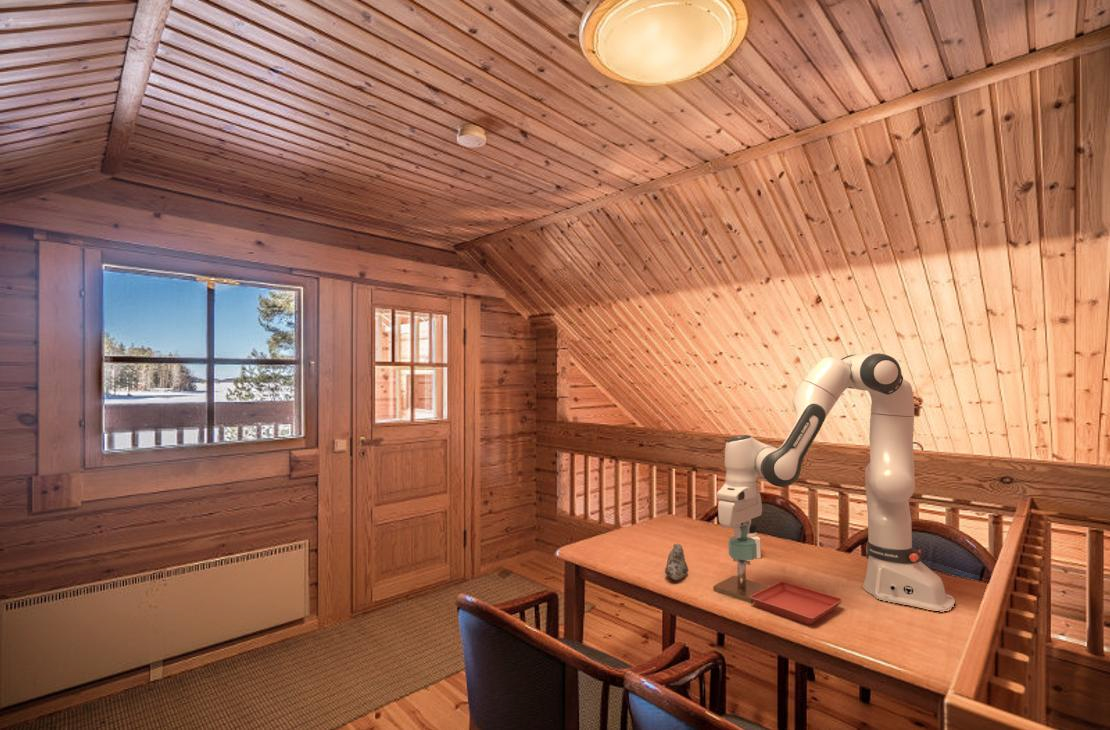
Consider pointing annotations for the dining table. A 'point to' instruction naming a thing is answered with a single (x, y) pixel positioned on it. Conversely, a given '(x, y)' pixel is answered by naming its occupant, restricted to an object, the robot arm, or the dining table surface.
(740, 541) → the cap
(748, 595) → the post
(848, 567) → the dining table surface
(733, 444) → the robot arm
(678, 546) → the mineral rock
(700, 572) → the dining table surface
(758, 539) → the medicine bottle
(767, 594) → the plant saucer
